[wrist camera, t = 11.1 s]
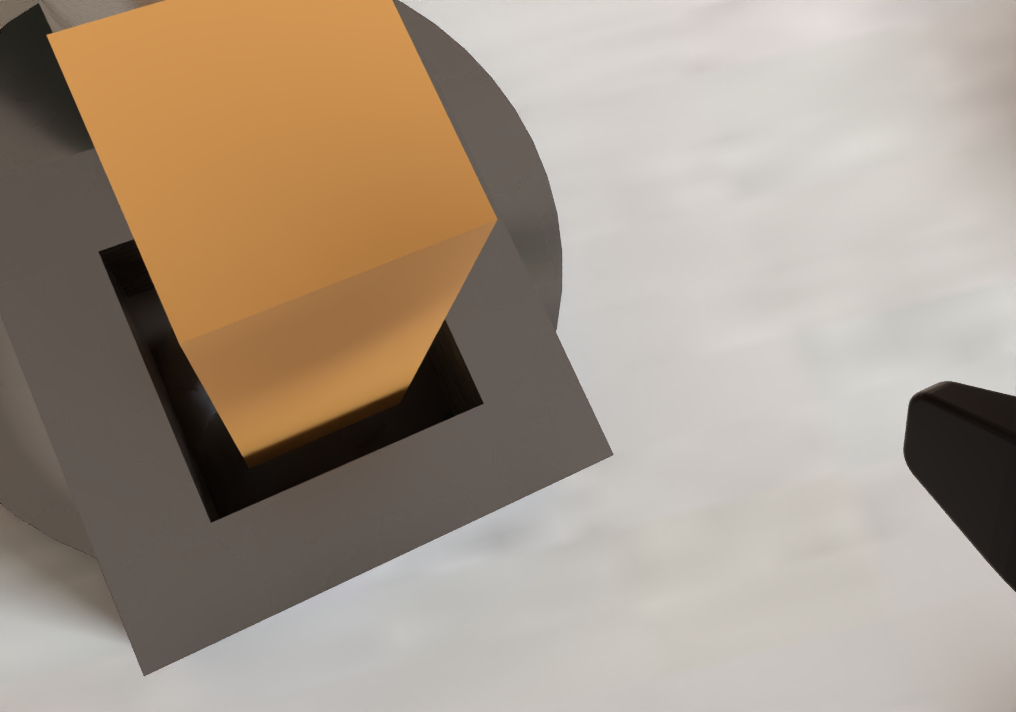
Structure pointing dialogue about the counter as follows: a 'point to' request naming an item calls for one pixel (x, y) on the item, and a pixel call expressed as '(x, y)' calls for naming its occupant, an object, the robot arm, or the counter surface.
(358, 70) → the wooden block
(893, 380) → the counter surface
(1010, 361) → the counter surface
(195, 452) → the desk organizer stand
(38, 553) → the counter surface
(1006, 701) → the counter surface
